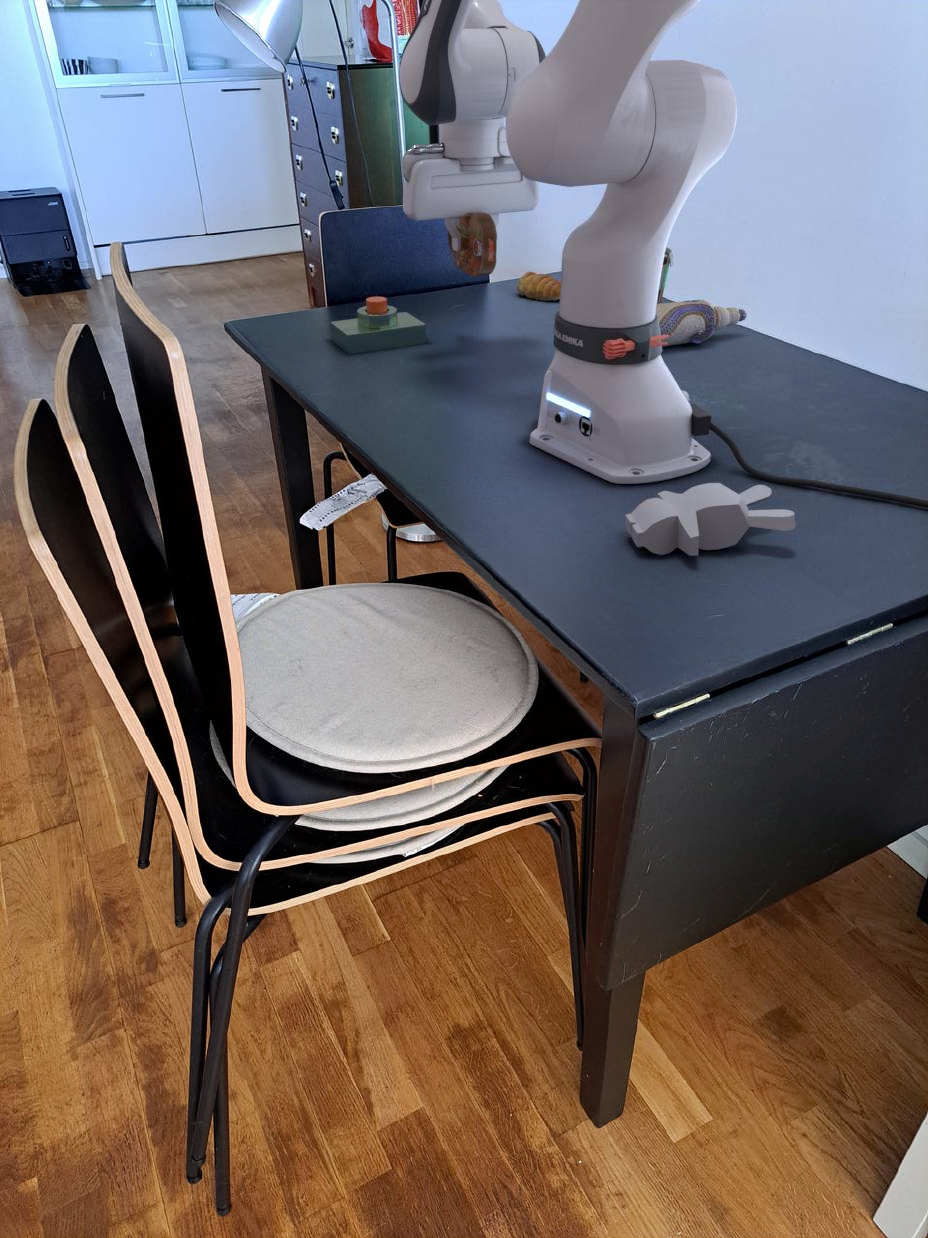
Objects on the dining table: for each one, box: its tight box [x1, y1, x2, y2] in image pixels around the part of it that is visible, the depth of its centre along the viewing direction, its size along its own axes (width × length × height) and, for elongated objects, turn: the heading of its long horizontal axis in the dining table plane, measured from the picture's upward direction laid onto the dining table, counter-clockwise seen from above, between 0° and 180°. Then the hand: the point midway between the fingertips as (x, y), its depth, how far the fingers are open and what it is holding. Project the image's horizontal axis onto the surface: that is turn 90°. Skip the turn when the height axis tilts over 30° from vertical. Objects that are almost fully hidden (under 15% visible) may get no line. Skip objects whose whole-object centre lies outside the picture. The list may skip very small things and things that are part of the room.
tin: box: [447, 212, 498, 278], centre depth 129 cm, size 15×3×8 cm, turn 19°
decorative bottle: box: [656, 299, 747, 348], centre depth 138 cm, size 26×8×7 cm, turn 113°
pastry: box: [516, 271, 561, 302], centre depth 163 cm, size 9×7×4 cm
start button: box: [365, 296, 388, 313], centre depth 138 cm, size 3×3×2 cm
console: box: [330, 304, 427, 355], centre depth 140 cm, size 8×13×5 cm, turn 116°
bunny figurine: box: [624, 482, 796, 557], centre depth 86 cm, size 10×5×15 cm
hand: (472, 248), depth 129 cm, fingers closed on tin, 3 cm apart
